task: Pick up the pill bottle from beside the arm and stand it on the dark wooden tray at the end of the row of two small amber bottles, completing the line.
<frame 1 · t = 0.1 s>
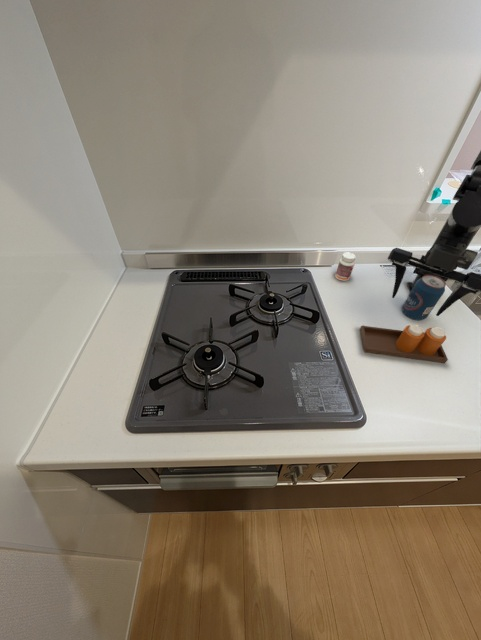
hand: (414, 306, 61), 15 cm above the worktop, tool tilted 35°, fingers open, 9 cm apart
amber bottle middle: (404, 346, 72), resting on tray
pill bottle: (341, 277, 94), on the worktop
amber bottle back: (425, 348, 71), resting on tray
soda can: (412, 314, 81), on the worktop
tray: (399, 346, 72), on the worktop
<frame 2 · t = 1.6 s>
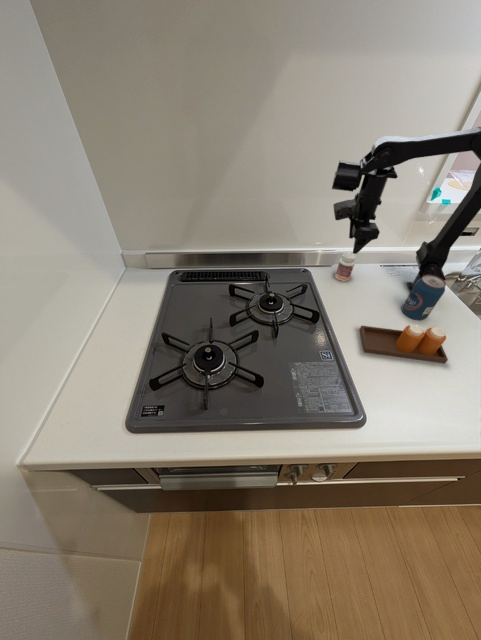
hand: (352, 245, 85), 12 cm above the worktop, tool pointing down, fingers open, 9 cm apart
nothing on the worktop moved.
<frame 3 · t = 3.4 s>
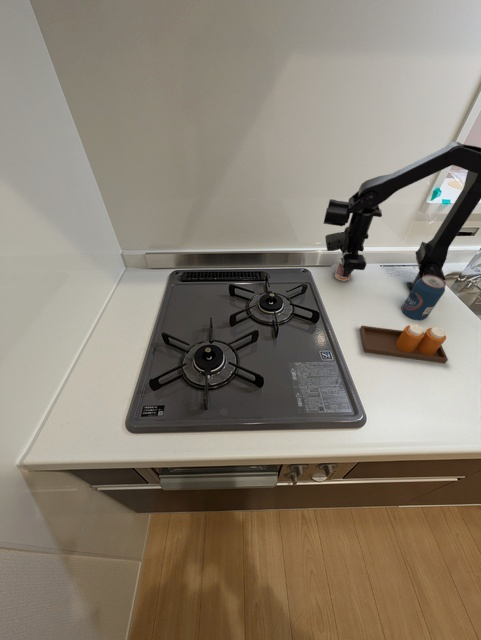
hand: (343, 272, 92), 2 cm above the worktop, tool pointing down, fingers closed on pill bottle, 5 cm apart
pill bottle: (341, 277, 94), on the worktop, touching gripper
everything else where it was.
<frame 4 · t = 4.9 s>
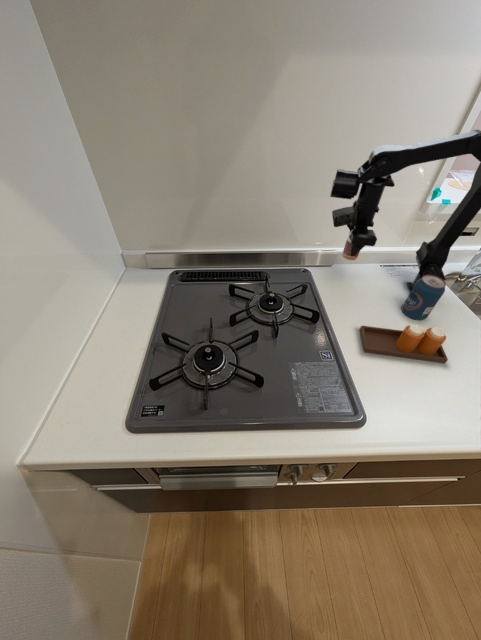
hand: (351, 251, 86), 10 cm above the worktop, tool pointing down, fingers closed on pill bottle, 5 cm apart
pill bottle: (349, 257, 88), point 8 cm above the worktop, touching gripper
everything else where it was.
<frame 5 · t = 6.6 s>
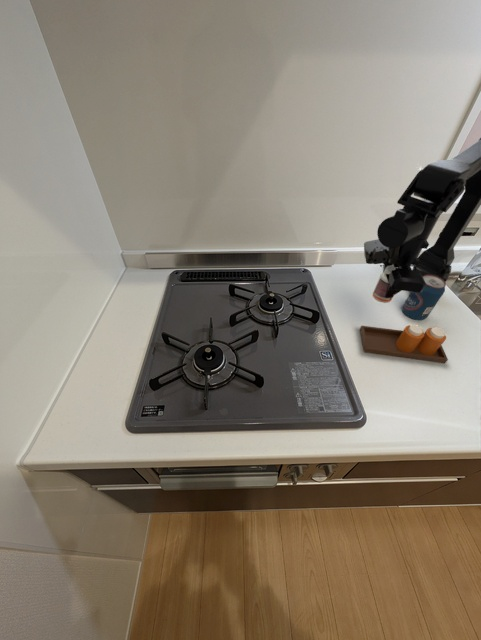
hand: (385, 291, 69), 12 cm above the worktop, tool pointing down, fingers closed on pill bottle, 5 cm apart
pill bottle: (381, 297, 71), point 10 cm above the worktop, touching gripper
everything else where it was.
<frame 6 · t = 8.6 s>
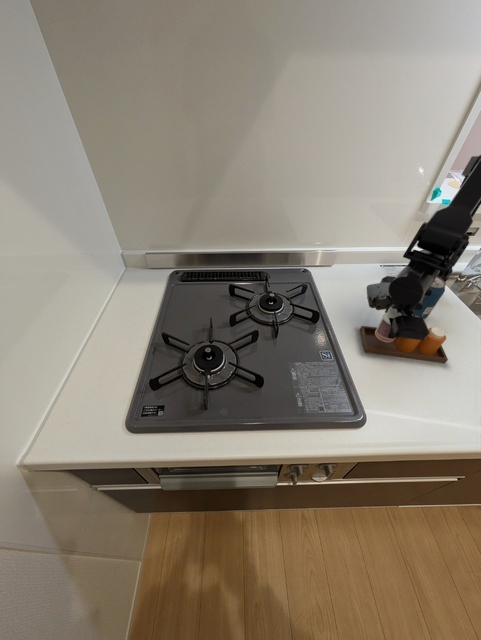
hand: (387, 330, 69), 5 cm above the worktop, tool pointing down, fingers closed on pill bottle, 5 cm apart
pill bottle: (384, 336, 71), point 3 cm above the worktop, touching gripper
everything else where it was.
when the fingers open (3 cm above the worktop, at t = 9.8 s): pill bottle stays where it is, resting on tray.
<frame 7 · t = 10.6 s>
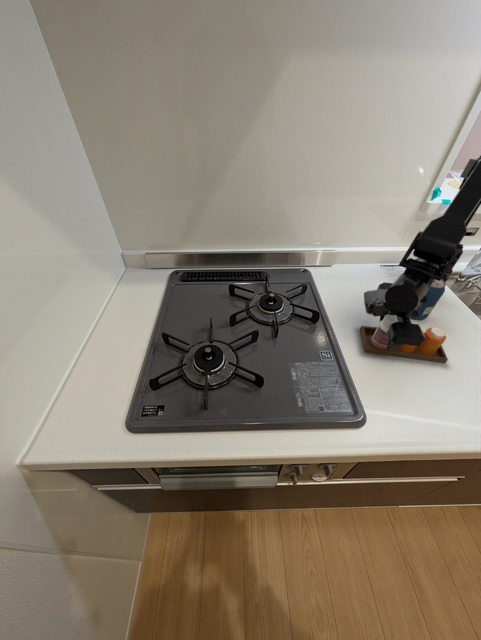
hand: (384, 335, 70), 3 cm above the worktop, tool pointing down, fingers open, 9 cm apart
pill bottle: (380, 343, 73), resting on tray
everything else where it was.
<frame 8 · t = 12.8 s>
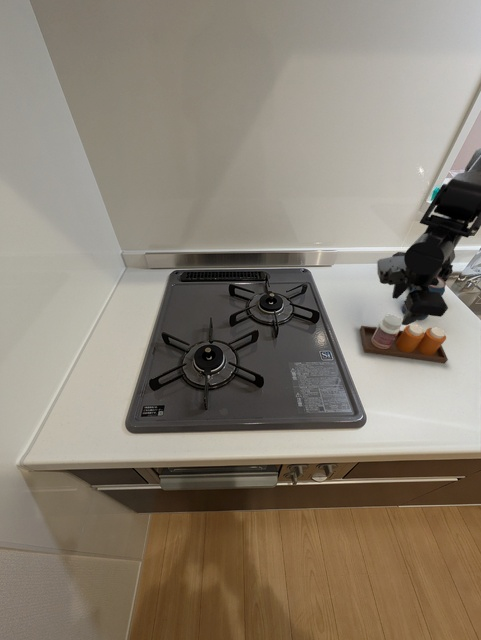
hand: (399, 310, 64), 12 cm above the worktop, tool pointing down, fingers open, 9 cm apart
nothing on the worktop moved.
at the end: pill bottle 0.1 cm from the target spot in the tray, point 0.3 cm above the tray's base; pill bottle tilted 0°; amber bottle middle moved 0.0 cm from its start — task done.
